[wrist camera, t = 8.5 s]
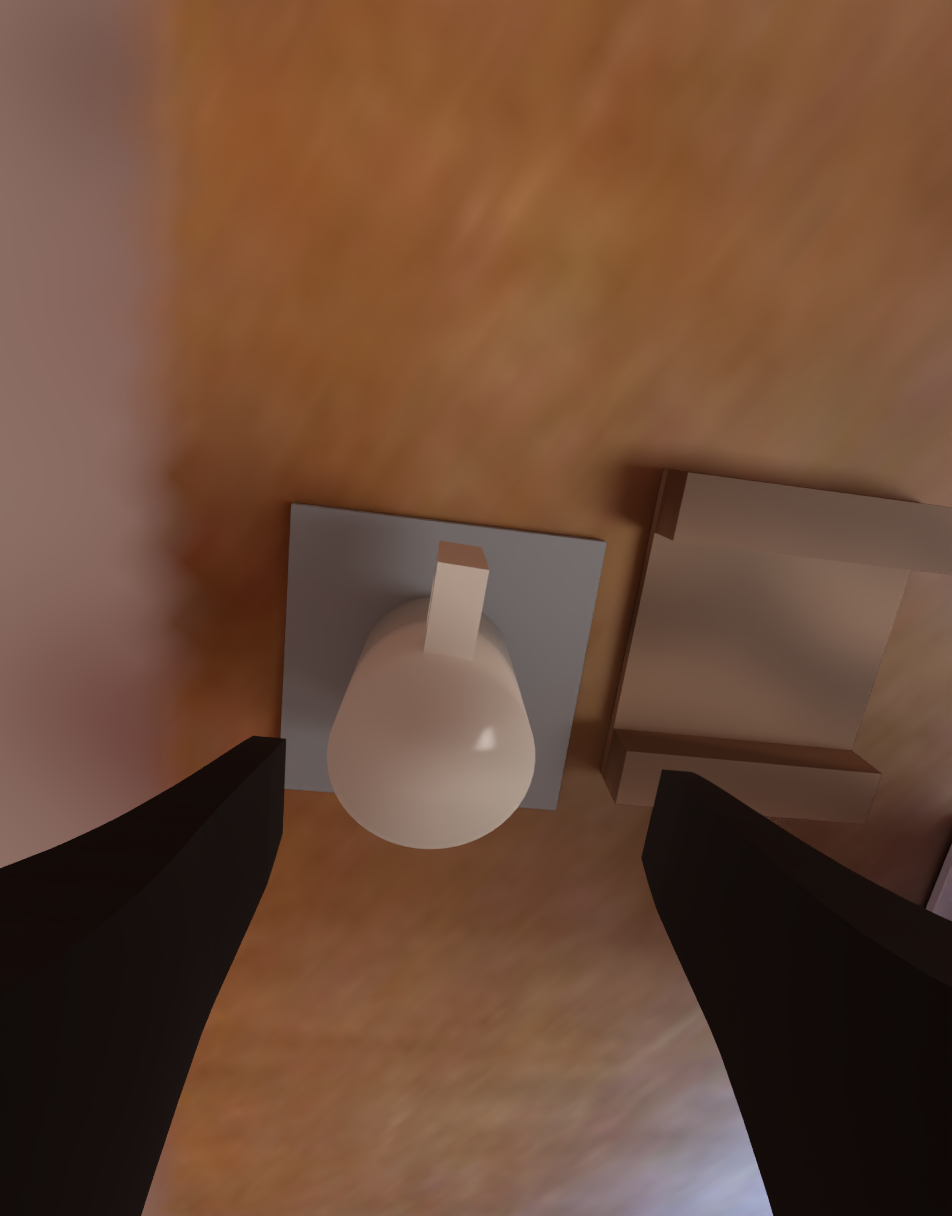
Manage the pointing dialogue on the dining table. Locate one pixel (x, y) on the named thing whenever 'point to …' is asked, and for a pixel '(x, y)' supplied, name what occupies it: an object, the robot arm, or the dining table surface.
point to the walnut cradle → (764, 641)
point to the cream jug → (434, 718)
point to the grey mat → (403, 571)
